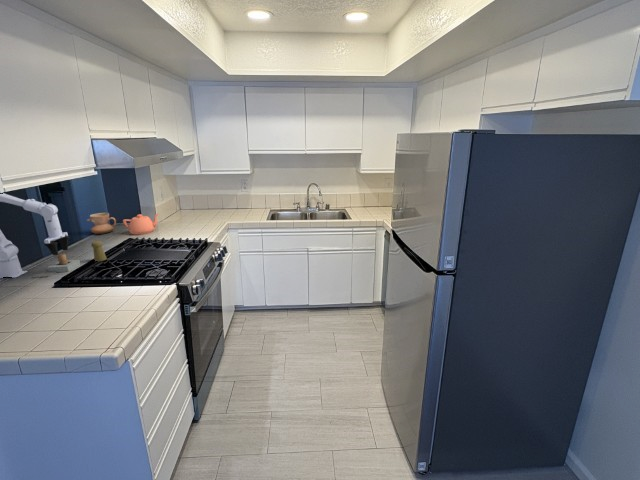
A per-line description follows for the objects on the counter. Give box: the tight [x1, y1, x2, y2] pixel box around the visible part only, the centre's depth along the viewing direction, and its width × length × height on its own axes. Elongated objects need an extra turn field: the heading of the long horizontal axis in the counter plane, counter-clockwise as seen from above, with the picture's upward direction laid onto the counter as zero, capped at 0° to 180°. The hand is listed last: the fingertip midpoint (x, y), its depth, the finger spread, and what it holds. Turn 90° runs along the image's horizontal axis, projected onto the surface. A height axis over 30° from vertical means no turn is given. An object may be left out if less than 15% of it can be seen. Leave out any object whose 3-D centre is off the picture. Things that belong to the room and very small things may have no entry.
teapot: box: [122, 213, 160, 236], centre depth 246 cm, size 25×17×13 cm
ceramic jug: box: [86, 212, 117, 235], centre depth 249 cm, size 18×14×14 cm
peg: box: [56, 253, 68, 265], centre depth 179 cm, size 4×4×8 cm
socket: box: [47, 259, 81, 273], centre depth 180 cm, size 10×10×3 cm
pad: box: [32, 270, 58, 279], centre depth 173 cm, size 8×8×1 cm
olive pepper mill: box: [91, 240, 108, 262], centre depth 191 cm, size 6×6×11 cm
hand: (60, 252), depth 177 cm, fingers open, 7 cm apart
